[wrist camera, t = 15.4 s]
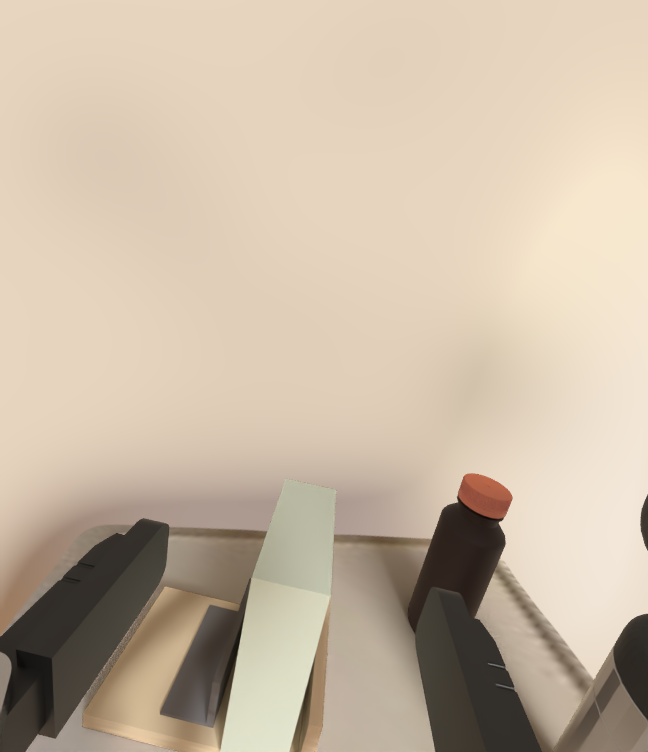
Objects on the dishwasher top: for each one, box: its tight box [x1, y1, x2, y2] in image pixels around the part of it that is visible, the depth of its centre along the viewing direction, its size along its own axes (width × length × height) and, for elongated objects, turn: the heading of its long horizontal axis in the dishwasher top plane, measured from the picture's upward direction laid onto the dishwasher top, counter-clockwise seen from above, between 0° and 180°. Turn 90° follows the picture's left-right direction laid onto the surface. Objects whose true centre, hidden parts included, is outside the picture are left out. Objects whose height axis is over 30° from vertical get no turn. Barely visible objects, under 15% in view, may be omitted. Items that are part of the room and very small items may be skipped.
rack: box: [83, 579, 331, 752], centre depth 28 cm, size 18×11×6 cm, turn 85°
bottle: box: [408, 474, 512, 632], centre depth 36 cm, size 7×7×20 cm
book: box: [220, 479, 336, 752], centre depth 26 cm, size 5×11×17 cm, turn 175°
